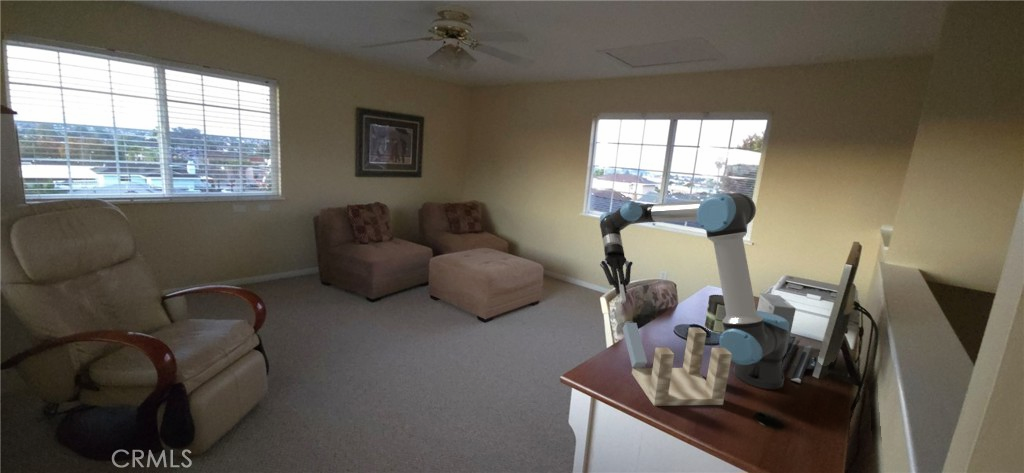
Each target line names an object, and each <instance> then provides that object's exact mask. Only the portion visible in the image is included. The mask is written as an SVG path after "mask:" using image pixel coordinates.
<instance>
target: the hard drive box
mask: <svg viewBox="0 0 1024 473" xmlns="http://www.w3.org/2000/svg"><path fill="white" fill-rule="evenodd" d="M756 311H763V312H767V313H771V314H775V315H778V316H780V317H782V318H784V319H786V320H787V321H788V322H789V332H788V334H787V339H786V344H785V348H784V353H786V354H787V351H788V348H789V342H790V337H791V333H792V329H793V328H792V327H793V324H794V320H795V314H796V307H795V306H794V305H792V304H791V303H789V301H787V300H786V299H785V298H784V297H782V296H781V295H779V294H772V293H771V294H770V293H759V298H758V303H757V309H756Z"/></svg>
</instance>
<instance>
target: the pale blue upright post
mask: <svg viewBox="0 0 1024 473" xmlns="http://www.w3.org/2000/svg"><path fill="white" fill-rule="evenodd" d="M622 332H623V336H624V340H625V344H626V349H627V352H628V354H629V355H628V356H629V360H630V363H631V369H632V368H645V366H646V365H647V363H648V360H647V359H648V358H647V355H646V353H645V349H644V346H643V342H642V338H641V334H640V330H639V328H638V323H637V322H634V321H633V320H628V321H625V322H624V324H623V327H622Z"/></svg>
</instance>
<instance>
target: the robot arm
mask: <svg viewBox="0 0 1024 473" xmlns="http://www.w3.org/2000/svg"><path fill="white" fill-rule="evenodd" d="M756 208H757V206H756V204H755V201H754V200H753V199H752V198H751V197H750V196H748V195H746V194H744V193H741V192H740V193H739V192H733V193H717V194H712V195H709V196H708V197H706V198H704V199H703V200H699V201H698V200H697V201H681V202H667V203H665V202H663V203H646V204H639V203H638V202H635V201H634V200H630V201H627V202H626V203H624V204H623V205H622V206H621V207H619V208H618V209H617V210H616V211H615V212H613V211H607V212H606V213H605V212H604V213H602V214H601V215H600V216H599V228H600V231H601V237H602V238H601V239H602V244H603V248H604V257H605V258H604V260H602V261H601V262H600V263H599V265H600V268H602V269H603V272H604V274H605V277H606V279H607V281H608V284H609V286H613V288H614V290H615V294H616V295H618V300H619V303H620V304H624V303H625V302H626V301H627V299H626V294H627V292H628V291H627V286H629V284H630V283H631V270H632V265H633V264H634V263H633V261H629V260H627V258H626V257H625V256H626V255H625V251H624V246H623V239H622V236H621V231H622V230H624V229H626V228H627V227H628V226H630V225H634V224H635V225H636V224H644V223H683V222H685V223H687V222H690V223H691V222H692V223H693V222H697V223H698V224H699V226H700V227H701V228H702V229H703V230H704V231H706V238H707V239H708V240H709V241H711V242H712V243H713V248H714V252H715V253H714V254H715V258H716V264H717V269H718V275H719V280H720V285H721V287H720V288H721V291H722V295H723V298H724V304H725V309H726V317H725V318H724V319H723V320H722V322H723V327H724V332H723V333H722V334H720V336H719V342H718V343H719V346H720V347H719V348H725V349H727V350H728V351H729V352H730V353H731V354H732V358H731V362H733V363H734V365H733V374H734V375H735V376H736V377H737V378H738V379H739V380H741V381H742V382H744V383H745V384H748V385H751V386H752V387H753V386H754V387H756V388H759V389H764V390H779V389H781V388H782V387H783V386H784V383H785V382H784V381H785V374H784V369H783V362H782V361H783V358H784V356H783V353H784V348H785V344H786V339H787V334H788V332H789V322H788V321H787V320H786V319H784V318H782V317H780V316H778V315H775V314H771V313H767V312H763V311H757V309H756V302H755V298H754V297H755V296H754V293H753V292H754V291H753V286H752V282H751V277H750V270H749V265H748V260H747V254H746V248H745V243H744V237H745V235H747V233H748V229H747V225H748V224H749V225H750V223H751V222H752V221H753V220H754V218H755V215H756V212H757V209H756ZM624 266H625V273H624Z"/></svg>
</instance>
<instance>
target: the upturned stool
mask: <svg viewBox="0 0 1024 473" xmlns="http://www.w3.org/2000/svg"><path fill="white" fill-rule="evenodd" d="M706 338H707V332H706V331H705V330H704V329H702V328H701V327H688V331H687V339H686V344H685V351H684V358H683V364H682V367H673V366H674V358H675V353H674V352H673V351H672V350H671V349H670V348H669V347H655V349H654V356H653V365H652V367H634V368H632V367H631V375H632V376H633V378H634V379H635V380H636V382H637V383H638V384H639V386H640V387H641V389H642V391H643V392H644V394H645V395H646V396H647V398H648V399H649V401H650V402H651V404H652V405H653V406H654V407H657V406H659V407H660V406H661V407H662V406H717V405H718V406H723V405H724V400H725V395H726V391H727V390H726V389H727V385H728V380H729V373H730V368H731V363H732V361H731V358H732V354H731V353H730V352H729V351H728V350H727V349H725V348H721V347H712V348H711V351H710V357H709V363H708V369H707V375H706V379H705V378H704V377H703V376H702V374H701V369H702V363H703V362H702V361H703V356H704V350H705V345H706Z"/></svg>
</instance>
